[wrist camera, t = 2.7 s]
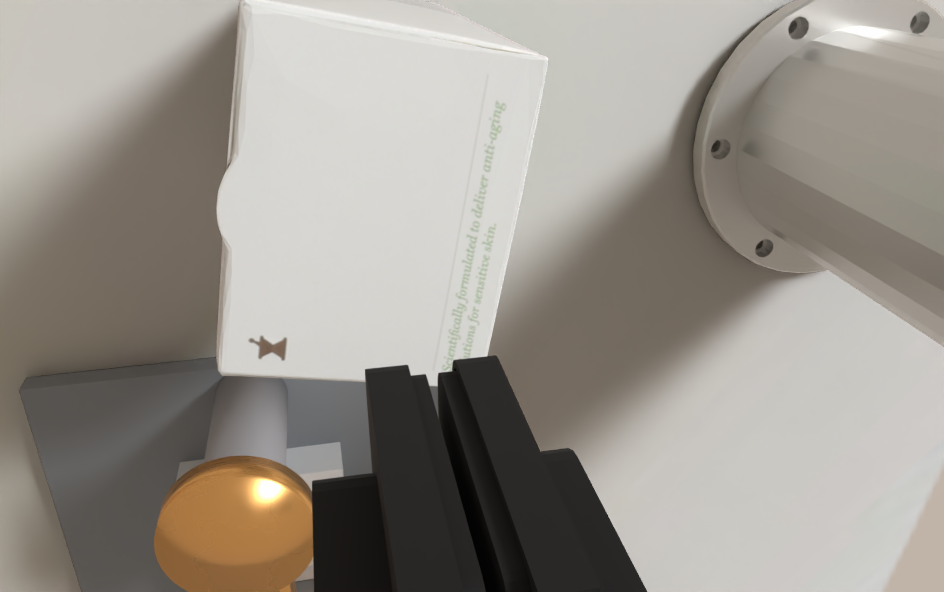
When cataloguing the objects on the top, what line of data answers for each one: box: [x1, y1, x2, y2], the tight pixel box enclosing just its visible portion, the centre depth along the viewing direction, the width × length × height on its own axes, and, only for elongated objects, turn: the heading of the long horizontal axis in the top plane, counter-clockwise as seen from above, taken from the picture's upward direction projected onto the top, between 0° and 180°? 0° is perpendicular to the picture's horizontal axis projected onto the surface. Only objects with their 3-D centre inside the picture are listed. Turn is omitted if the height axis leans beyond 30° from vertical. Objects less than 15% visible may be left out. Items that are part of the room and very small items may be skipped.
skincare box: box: [216, 0, 548, 386], centre depth 24 cm, size 8×7×16 cm
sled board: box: [19, 357, 439, 592], centre depth 35 cm, size 18×18×8 cm
